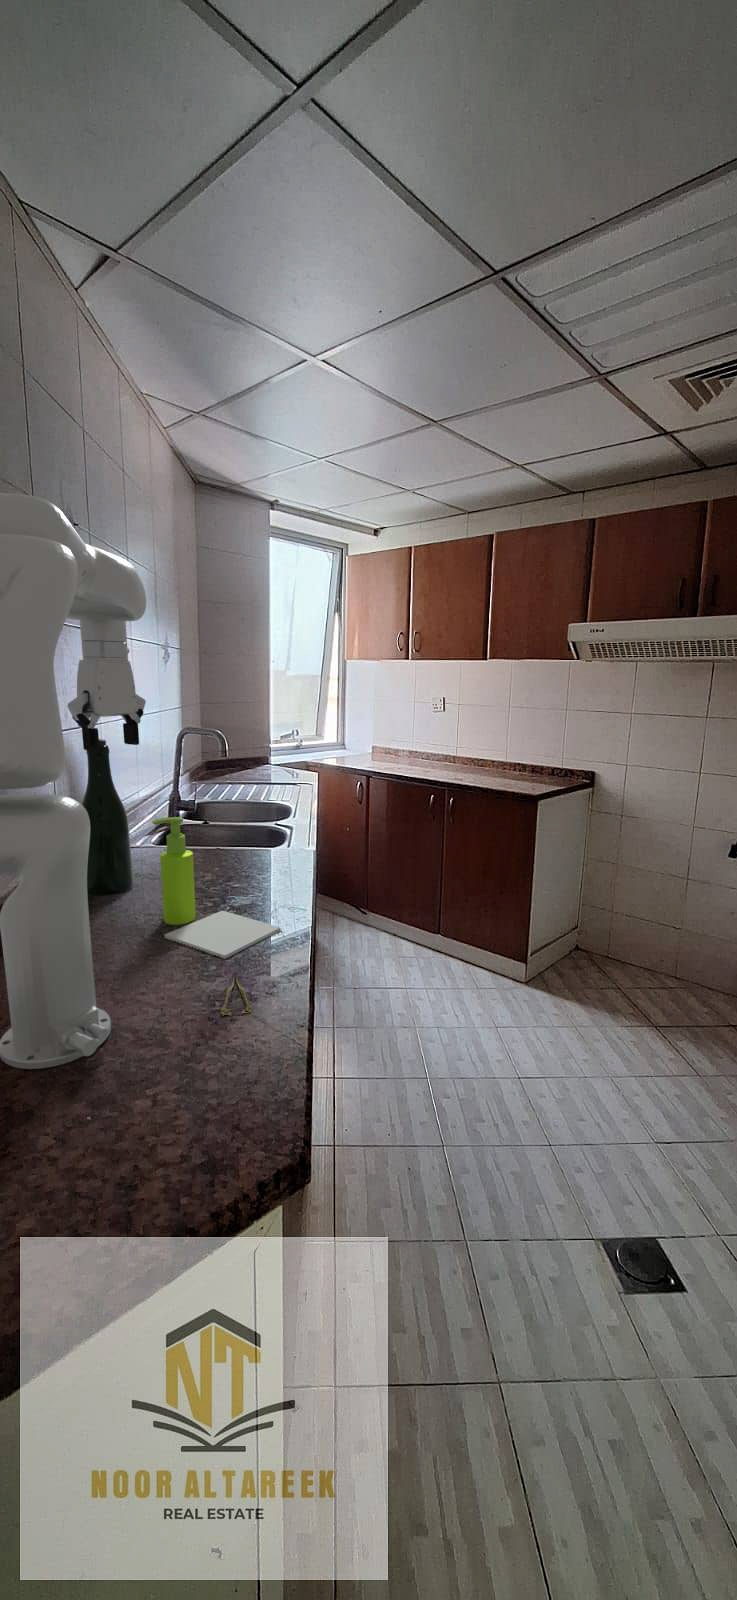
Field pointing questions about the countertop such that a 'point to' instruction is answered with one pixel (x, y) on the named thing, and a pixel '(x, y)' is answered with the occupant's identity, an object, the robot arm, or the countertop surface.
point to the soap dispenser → (177, 876)
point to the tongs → (235, 978)
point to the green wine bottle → (106, 829)
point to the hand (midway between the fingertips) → (112, 747)
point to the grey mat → (223, 933)
